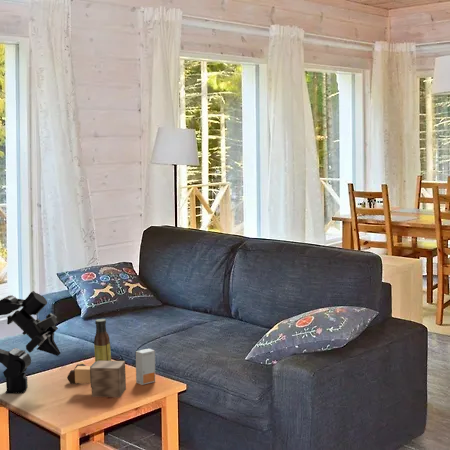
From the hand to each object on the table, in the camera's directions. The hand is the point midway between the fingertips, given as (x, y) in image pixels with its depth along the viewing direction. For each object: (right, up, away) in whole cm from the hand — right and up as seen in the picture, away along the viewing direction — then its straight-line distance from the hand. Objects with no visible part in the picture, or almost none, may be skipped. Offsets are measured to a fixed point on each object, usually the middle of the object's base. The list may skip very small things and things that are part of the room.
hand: (59, 354), depth 260 cm
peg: (+11, -9, 0) cm, 14 cm away
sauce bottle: (+11, -11, +28) cm, 32 cm away
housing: (+18, -13, 0) cm, 22 cm away
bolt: (+4, -12, +18) cm, 22 cm away
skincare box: (+30, -12, +11) cm, 34 cm away
